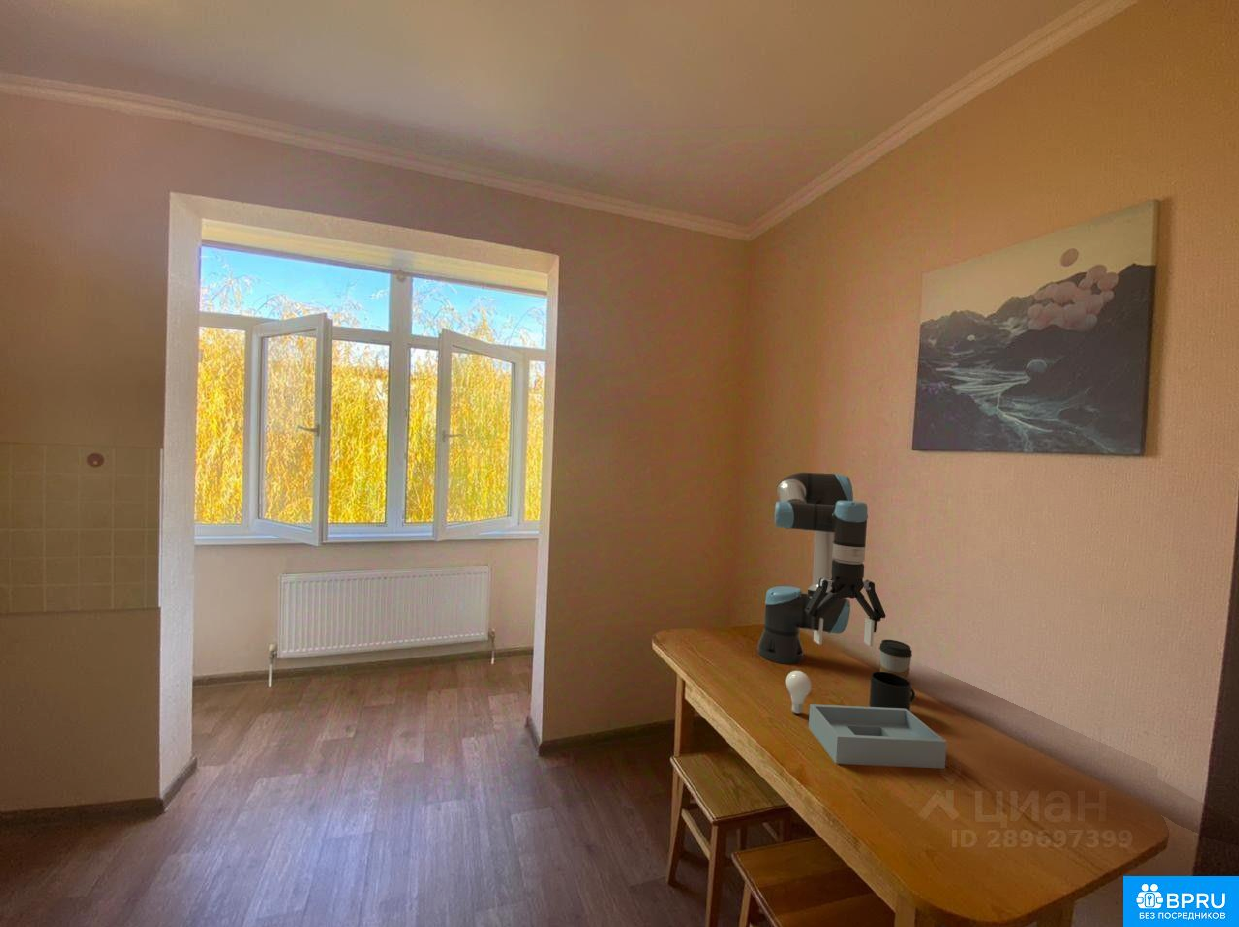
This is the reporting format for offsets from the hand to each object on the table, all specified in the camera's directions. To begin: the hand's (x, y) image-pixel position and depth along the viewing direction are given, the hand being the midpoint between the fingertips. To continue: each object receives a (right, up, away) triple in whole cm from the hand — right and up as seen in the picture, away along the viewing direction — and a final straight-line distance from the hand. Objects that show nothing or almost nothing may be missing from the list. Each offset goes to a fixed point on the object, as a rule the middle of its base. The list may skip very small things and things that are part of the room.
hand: (843, 643), depth 121 cm
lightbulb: (-11, -20, +4) cm, 23 cm away
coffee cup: (+23, -22, +18) cm, 36 cm away
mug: (+17, -22, +7) cm, 29 cm away
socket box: (+2, -21, -10) cm, 23 cm away
